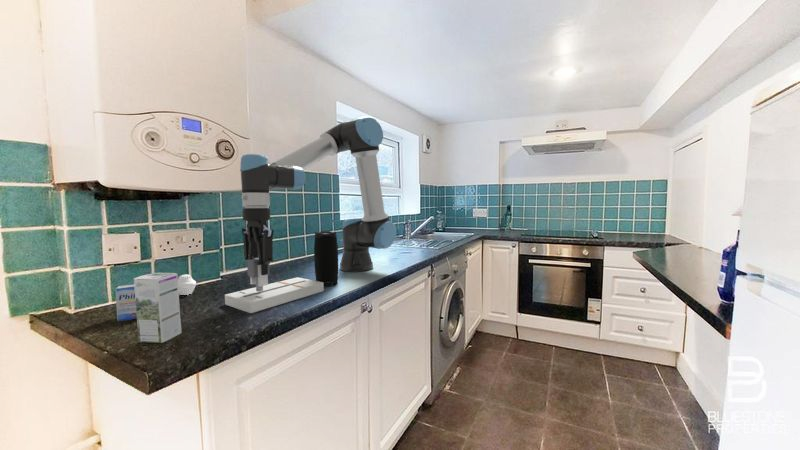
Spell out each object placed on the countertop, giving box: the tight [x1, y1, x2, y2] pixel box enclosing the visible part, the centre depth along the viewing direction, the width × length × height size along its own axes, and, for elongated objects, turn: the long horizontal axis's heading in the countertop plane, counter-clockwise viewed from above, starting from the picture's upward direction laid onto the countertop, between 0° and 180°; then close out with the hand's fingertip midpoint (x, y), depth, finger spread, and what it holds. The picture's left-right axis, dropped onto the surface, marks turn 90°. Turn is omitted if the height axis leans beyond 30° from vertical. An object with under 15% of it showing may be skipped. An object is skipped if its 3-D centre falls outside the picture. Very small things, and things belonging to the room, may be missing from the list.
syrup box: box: [133, 272, 182, 344], centre depth 69 cm, size 6×6×14 cm
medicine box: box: [114, 283, 137, 322], centre depth 84 cm, size 8×4×9 cm, turn 123°
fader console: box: [224, 276, 325, 314], centre depth 100 cm, size 26×14×3 cm, turn 145°
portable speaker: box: [313, 230, 339, 288], centre depth 115 cm, size 9×9×20 cm
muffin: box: [178, 273, 197, 296], centre depth 104 cm, size 6×6×7 cm
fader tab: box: [246, 257, 271, 292], centre depth 94 cm, size 5×4×10 cm
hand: (259, 284), depth 95 cm, fingers closed on fader tab, 3 cm apart
